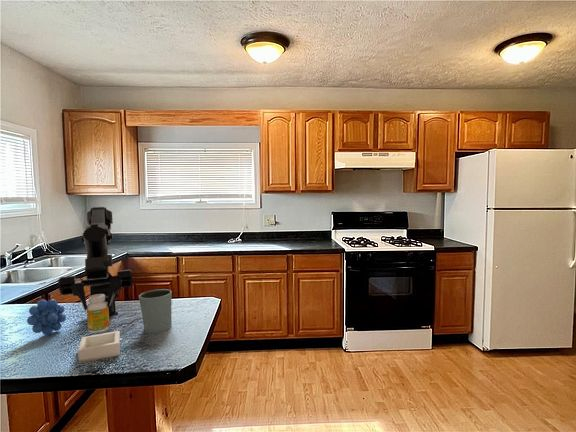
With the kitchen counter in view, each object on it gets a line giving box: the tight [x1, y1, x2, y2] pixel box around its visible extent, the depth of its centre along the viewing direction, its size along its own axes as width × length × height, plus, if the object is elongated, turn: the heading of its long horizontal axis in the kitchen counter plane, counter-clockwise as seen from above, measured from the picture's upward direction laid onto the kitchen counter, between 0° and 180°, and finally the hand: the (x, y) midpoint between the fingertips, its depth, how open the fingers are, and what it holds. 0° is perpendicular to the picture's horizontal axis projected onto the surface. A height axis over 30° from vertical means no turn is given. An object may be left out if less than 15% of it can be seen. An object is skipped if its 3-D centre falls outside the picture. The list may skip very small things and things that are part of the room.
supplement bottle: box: [86, 294, 110, 334], centre depth 97 cm, size 5×5×10 cm
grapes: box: [26, 298, 67, 336], centre depth 110 cm, size 12×7×12 cm, turn 156°
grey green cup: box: [138, 288, 173, 335], centre depth 113 cm, size 10×10×12 cm
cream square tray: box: [77, 330, 121, 364], centre depth 97 cm, size 10×10×4 cm
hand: (97, 307), depth 95 cm, fingers closed on supplement bottle, 5 cm apart
